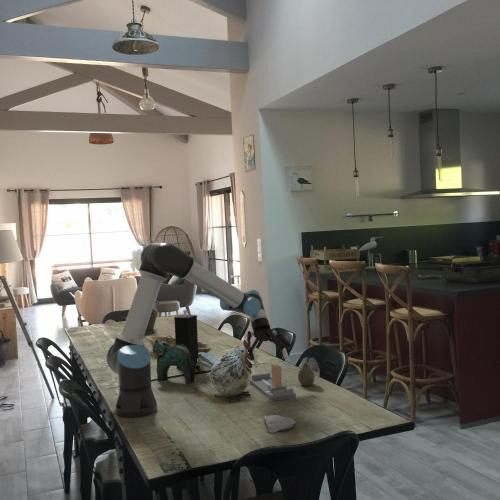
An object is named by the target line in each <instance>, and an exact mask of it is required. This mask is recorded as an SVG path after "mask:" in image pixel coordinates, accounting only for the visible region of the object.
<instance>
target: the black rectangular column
mask: <svg viewBox="0 0 500 500" xmlns="http://www.w3.org/2000/svg"><path fill="white" fill-rule="evenodd" d="M182 311H183V314H181V315H177V316H174V318H173V319H174V320H173V321H174V335H175V336H174V338H175V339H174V340H175V342H174V343H175V345H176V344H182V345H184V346H186V347H187V348H188V349H189V352H190V353H191V355H192V357H193V361H194V366H195V368H197V367H196V363H197V358H198V359H199V344H198V343H199V339H198V335H199V334H198V316H197V314H188V309H184V310H182ZM176 346H181V345H176ZM184 346H182V347H184ZM176 369H180V370H182V369H181V368H180V367H178V366H176Z"/></svg>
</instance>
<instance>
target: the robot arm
mask: <svg viewBox="0 0 500 500" xmlns="http://www.w3.org/2000/svg"><path fill="white" fill-rule="evenodd" d="M195 260H196V259H195V258H194V257H193V256H191V255H190V254H188V253H186V252H185V251H184V250H183V249H181V248H180V247H178V246H176V245H175V244H172V243H170V242H160V241H155V242H152V243H149V244H147V245H146V246H145V247H144V248H143V249H142V251H141V253H140V262H141V263H140V267H139V269H138V271H139V273H140V277H139V281H138V284H137V288H136V290H135V292H134V296H133V299H132V301H131V304H130V308H129V309H128V313H127V316H126V318H125V322H124V325H123V328H122V331H121V333H120V334H118V335H116V336H115V339H114V342H113V343H112V345H110V346H109V349H108V350H107V352H106V362H107V366H108V367H109V368H110V369H111V371H112V372H114V373H116V374H117V375H118V386H119V387H118V388H119V389H118V390H119V392H118V396H117V399H116V403H115V414H116V415H117V416H119V417H121V418H123V417H124V418H139V417H145V416H148V415H151V414H154V413H155V412H156V411H157V410H158V403H157V399H156V397H155V394H154V392H153V389H152V374H151V371H152V369H151V354H150V350H149V348H148V347H147V346H146V344H145V342H144V340H143V339H144V336H145V333H146V330H147V327H148V325H149V322H150V319H151V318H150V317H151V315H152V312H153V310H154V307H155V304H156V301H157V297H158V294H159V292H160V288H161V286H162V283H163V282H165V281H167V280H168V277H169V275H171V276H174V277H176V278H178V279H180V280H184V279H185V280H186V281H188V282H189V283H191V284H193V285H195V286H196V287H198V288H200V289H202V290H203V291H205V292H206V293H208V294H210V295H212V296H214V297H215V298H216V299H218V300H219V306H220V308H221V310H222V311H227V312H235V313H239V314H242V315H245V316H248V318H249V321H250V325H251V329H252V331H250V330H248V331H247V334H246V337H247V338H246V342H247V341H248V342H251V340H252V338H253V337H254V338H255V340H254V341H253V343H252V345H251V346H250V348H248V349H249V350H248V352H249V355H250V356H249V355H248V356H249V358H250V357H251V359H250V361H252V362H253V365H254V369H258V366H259V362H258V358H257V356H256V352H255V348H256V346H257V344H258V343H259V342H262V343H263V342H270V343H273V344H274V345H275V346H277V347H279V348H280V349H281V350H282V356H283V358H284V361H285V364H286V365H287V366H288V365H289V364H290V362H291V360H290V357H289V356H290V351H289V350H290V348H291V346H292V344H291V342H289V341H288V340H287V339H286V337H284V335H283V334H282V333H281V332H280V330H279V328H275V329H273V330H272V328H271V325H270V322H269V318H268V315H267V313H266V310H265V305H264V303H263V300H262V297H261V294H260V292H259V291H258V290H256V289H251V290H247V291H245V292H244V291H242V290H241V289H239V288H237V287H236V286H234V285H232V284H231V283H229V282H227V281H226V280H225V279H223V278H222V277H220V276H218V275H216V274H215V273H213V272H211V271H210V270H208V269H207V268H205V267H204V266H202V265H201V264H199V263H197V262H196V261H195Z"/></svg>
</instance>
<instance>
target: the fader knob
mask: <svg viewBox="0 0 500 500" xmlns="http://www.w3.org/2000/svg"><path fill="white" fill-rule="evenodd" d="M270 366H271V377H272V385H268V389H269V390H270V391H271V392H273V391H276V390H283V389H286V387H287V386H286V385H285V384H283V383H282V366H281V365H279V364H276V363H275V364H271V365H270Z"/></svg>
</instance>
